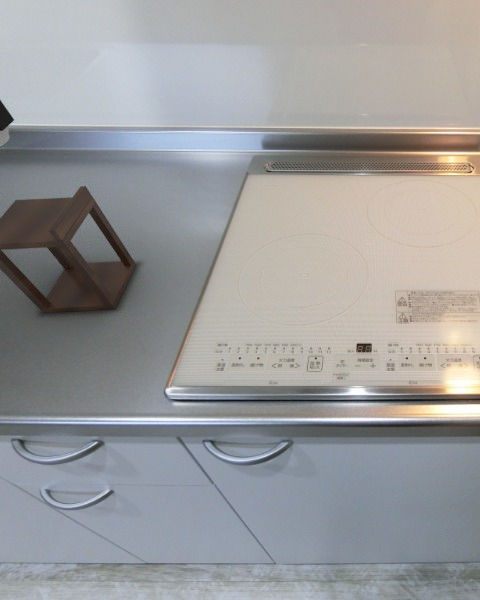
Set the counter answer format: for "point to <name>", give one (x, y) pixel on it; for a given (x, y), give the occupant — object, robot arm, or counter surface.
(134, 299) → the counter surface
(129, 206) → the counter surface
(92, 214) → the shelf
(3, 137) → the coffee cup
